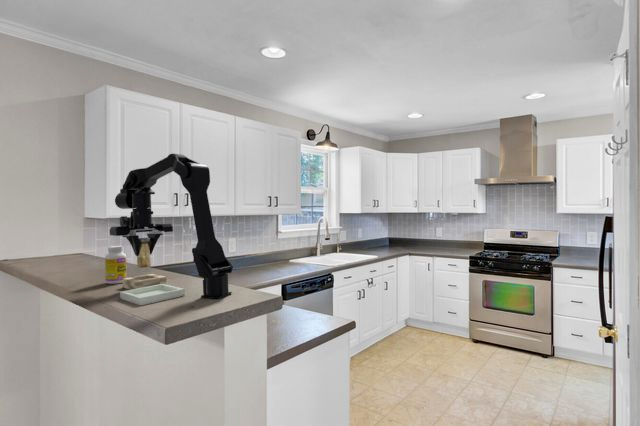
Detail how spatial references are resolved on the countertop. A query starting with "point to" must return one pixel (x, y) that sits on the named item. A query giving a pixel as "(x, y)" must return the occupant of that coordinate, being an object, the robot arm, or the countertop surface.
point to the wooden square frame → (143, 281)
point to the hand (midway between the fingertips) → (143, 255)
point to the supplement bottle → (115, 265)
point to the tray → (151, 294)
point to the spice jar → (144, 253)
